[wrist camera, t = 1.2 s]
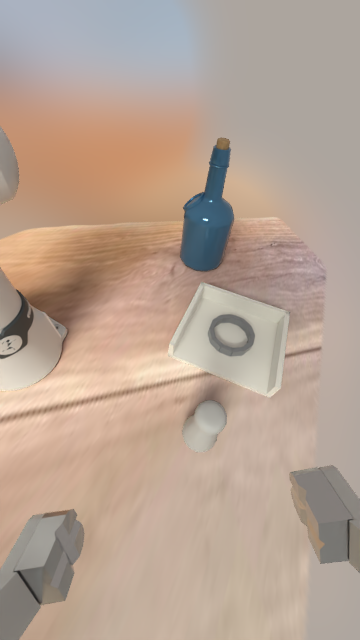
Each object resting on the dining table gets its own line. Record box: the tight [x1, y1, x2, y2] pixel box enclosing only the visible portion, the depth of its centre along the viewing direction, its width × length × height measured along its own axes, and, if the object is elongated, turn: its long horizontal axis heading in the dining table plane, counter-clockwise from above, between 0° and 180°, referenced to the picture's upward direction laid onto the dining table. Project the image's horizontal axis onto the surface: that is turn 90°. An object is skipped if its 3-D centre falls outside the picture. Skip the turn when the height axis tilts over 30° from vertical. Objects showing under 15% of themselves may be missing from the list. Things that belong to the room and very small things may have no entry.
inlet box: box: [168, 282, 290, 398], centre depth 50 cm, size 20×22×5 cm
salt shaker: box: [182, 400, 227, 452], centre depth 34 cm, size 6×6×13 cm
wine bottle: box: [180, 138, 234, 271], centre depth 58 cm, size 14×13×30 cm
